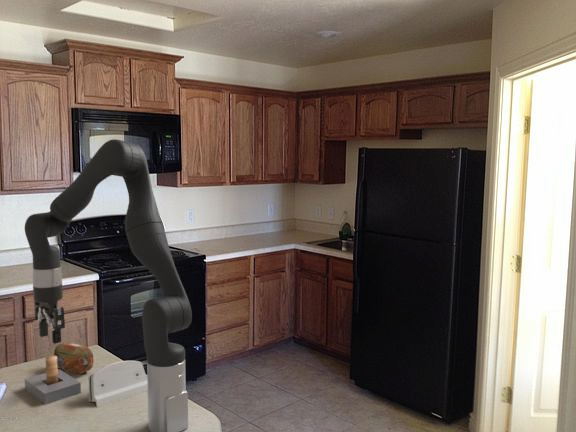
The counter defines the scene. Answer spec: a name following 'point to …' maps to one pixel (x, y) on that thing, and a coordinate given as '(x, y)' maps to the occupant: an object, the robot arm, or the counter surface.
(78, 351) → the tin
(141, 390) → the hinge
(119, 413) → the counter surface
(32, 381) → the hole block
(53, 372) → the peg
